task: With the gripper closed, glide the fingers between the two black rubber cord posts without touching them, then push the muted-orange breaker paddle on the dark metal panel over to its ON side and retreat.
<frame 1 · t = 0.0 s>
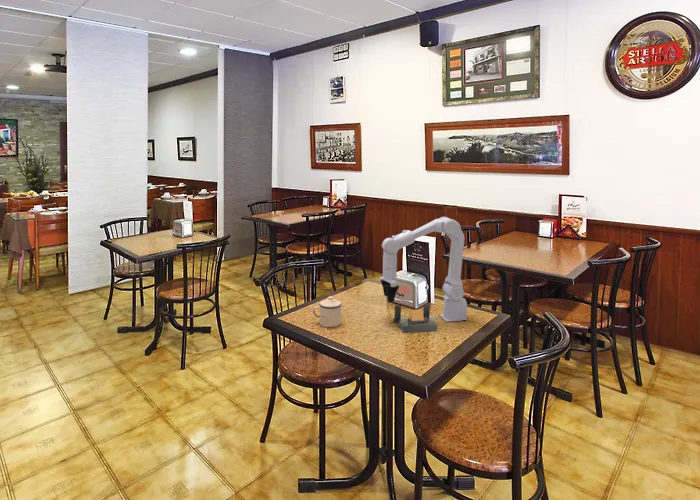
hand: (388, 298, 187), 10 cm above the table, fingers open, 7 cm apart
paddle: (417, 315, 182), point 5 cm above the table, hinge at 30.0°
teacup with lid: (327, 324, 186), on the table
far cord post: (397, 321, 189), on the table
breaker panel: (417, 328, 182), on the table
near cord post: (426, 320, 190), on the table
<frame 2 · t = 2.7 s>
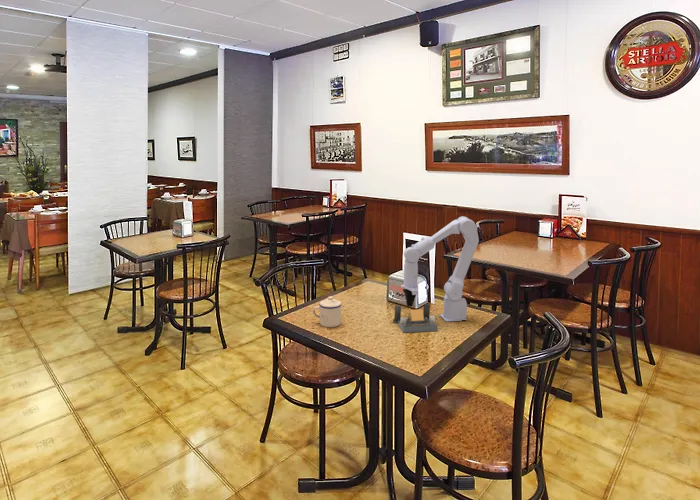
hand: (409, 305, 192), 5 cm above the table, fingers closed
nothing on the table moved.
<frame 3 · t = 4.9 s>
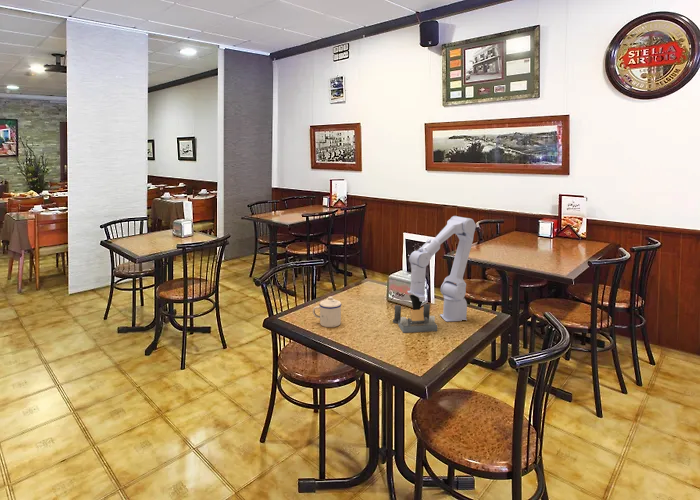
hand: (416, 312, 182), 6 cm above the table, fingers closed, pressing on paddle
paddle: (417, 315, 181), point 5 cm above the table, hinge at 24.7°, touching gripper
everything else where it was.
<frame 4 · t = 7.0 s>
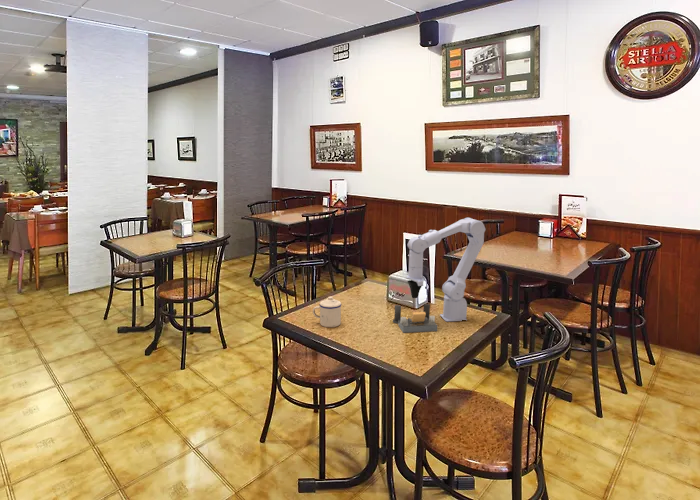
hand: (414, 297, 188), 10 cm above the table, fingers closed
paddle: (418, 317, 180), point 5 cm above the table, hinge at -26.2°
everything else where it was.
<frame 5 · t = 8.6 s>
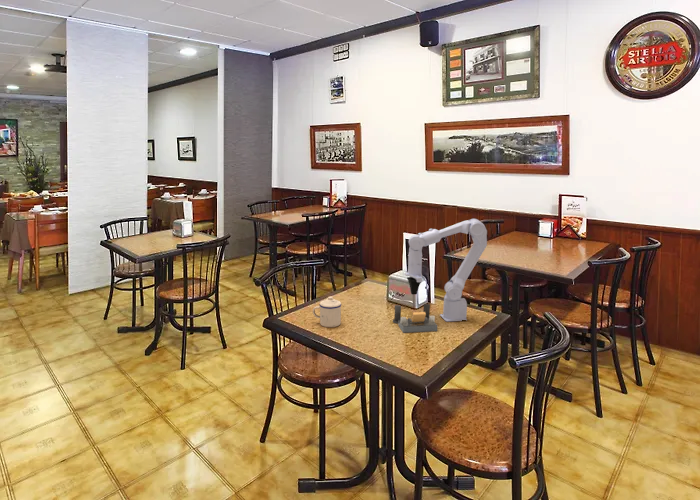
hand: (413, 293, 192), 10 cm above the table, fingers closed
paddle: (418, 317, 180), point 5 cm above the table, hinge at -27.0°
everything else where it was.
at the end: paddle at -27° (first picture: +30°) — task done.
